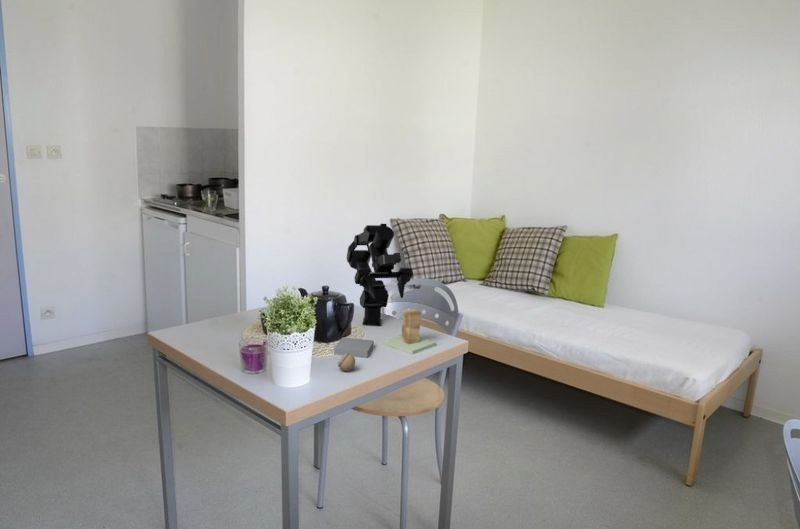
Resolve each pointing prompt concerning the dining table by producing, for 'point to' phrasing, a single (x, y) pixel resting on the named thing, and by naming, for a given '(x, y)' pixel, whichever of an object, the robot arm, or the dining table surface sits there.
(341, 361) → the door knob
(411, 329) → the oak block
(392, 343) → the sage mat
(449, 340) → the dining table surface
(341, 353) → the grey block
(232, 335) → the dining table surface
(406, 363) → the dining table surface
